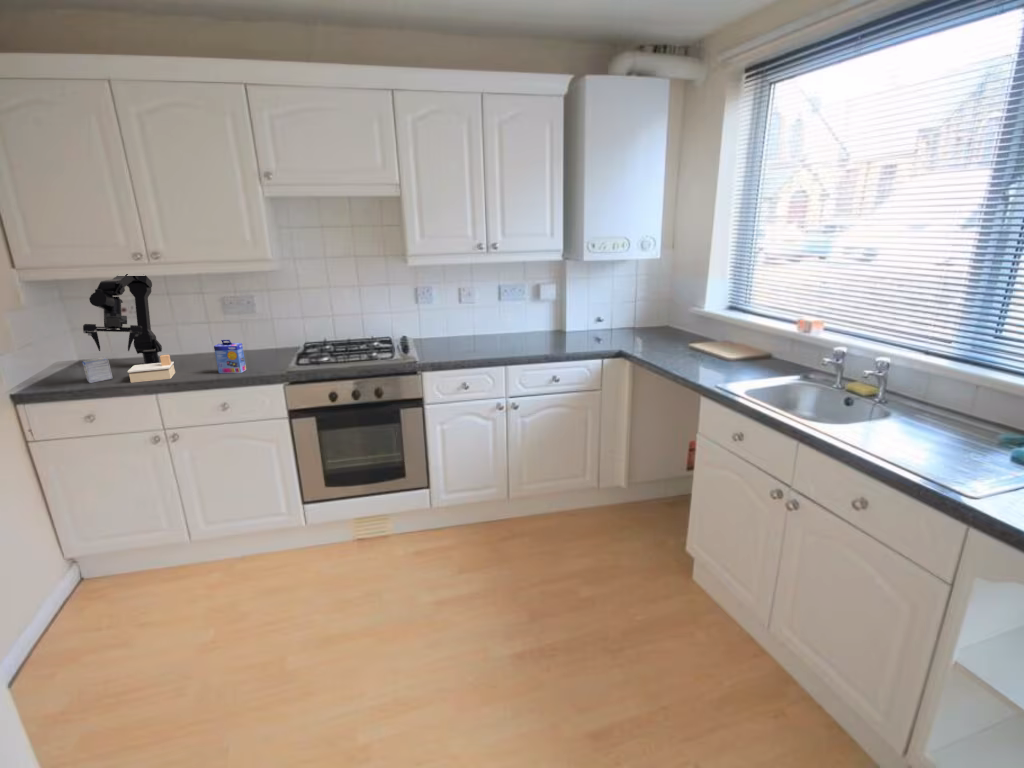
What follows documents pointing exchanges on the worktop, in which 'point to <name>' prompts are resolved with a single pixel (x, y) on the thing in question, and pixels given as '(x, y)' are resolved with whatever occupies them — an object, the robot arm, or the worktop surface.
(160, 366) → the lid
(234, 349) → the ink cartridge box
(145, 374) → the carton
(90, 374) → the medicine box
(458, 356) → the worktop surface
